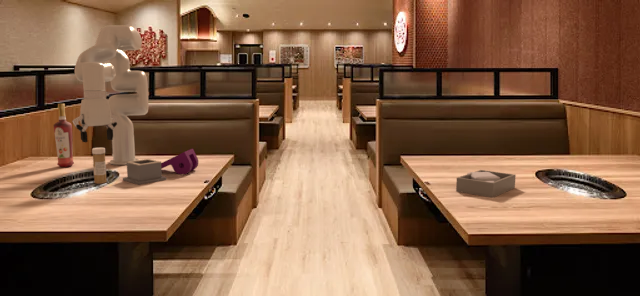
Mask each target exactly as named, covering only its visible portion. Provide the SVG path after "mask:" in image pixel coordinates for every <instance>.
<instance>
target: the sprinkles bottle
mask: <svg viewBox="0 0 640 296" xmlns="http://www.w3.org/2000/svg"><path fill="white" fill-rule="evenodd" d="M91 154H92V160H93V161H92V163H93V164H92V166H93V178H94V181H93V182H94V184H96V185H97V184H101V185H102V184H105V183H107V165H106V148H105V147H93V148H92V149H91Z"/></svg>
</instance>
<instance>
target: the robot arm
mask: <svg viewBox="0 0 640 296" xmlns="http://www.w3.org/2000/svg"><path fill="white" fill-rule="evenodd" d="M142 42H143V39H142V37H141V34H140V32H139V31H138V30H137V29H136V28H134V26H130V25H127V24H126V25H125V24H124V25H120V24H119V25H118V24H116V25H115V24H108V25H105V26H102V27H101V28H100V30H99V32H98V35H97V37H96V42H95V44H94V45H92V46H91V47H89V48H87V49H85V50H83V52H81V53H80V54H79V56H78V57H77V60H76V62H75V66H74V75H75V78H76V80H77V81H79V82H82V86H83V87H82V88H83V99H81V103H80V112H79V113H80V114H79V116H78V117H75V118H74V119H72V120H71V121H72V123H73V125H74V127H75V128H76V129H77V130H78V131H79V132H80V140H81V142H82V143H88V131H86V130H88V128H89V127H99V126H105V127H106V139H107V140H108V141H111V144H112V145H111V146H112V154H111V156H112V159H111V160H109V164H110V165H114V166H125V165H126V166H127V162H129V161H136V160H140V159H138V158H136V151H135V149H136V148H135V147H136V146H135V133H134V131H135V129H134V123H133V121H132V120H131V119H130V118H129V116H145V115H147V114H148V112H149V107H150V106H149V84H148V83H149V82H148V77H147V75H146V72H145V71H143V70H131V63H130V58H129V57H128V56H127V54H126V52H124V51H138V50H139V49H141V47H142V44H143V43H142ZM108 61H109V62H108ZM108 82H110V87H111V89H112V90H113V91H115V92H122V93H123V92H135V93H136V94H114V95H111V96H110V92H107V90H106V83H108ZM107 97H109V98H107ZM79 122H80V124H79Z"/></svg>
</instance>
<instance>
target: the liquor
mask: <svg viewBox="0 0 640 296" xmlns="http://www.w3.org/2000/svg"><path fill="white" fill-rule="evenodd" d="M65 106H66V104H65V103H57V108H58V121H57V122H55V123H54V124H53V132H54V140H55V147H56V154H57V166H58V167H60V168H70V167H72V166H73V165H74V164H75V163H74V159H73V158H74V157H73V156H74V154H73V124H72V123H71V122H69V121H67V118H66V112H65V111H66V110H65V109H66V107H65Z"/></svg>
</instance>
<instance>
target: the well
mask: <svg viewBox="0 0 640 296" xmlns="http://www.w3.org/2000/svg"><path fill="white" fill-rule="evenodd" d="M161 163H162V161H160V160H156V159H151V158H145V159H139V160H136V161H129V162H127V165H126V173H127V176H125V177H122V180H123V181H124V182H129V183H131V184H135V185H137V186H138V185H144V184H145V185H146V184H150V183H151V184H152V183H156V182H162V181H167V177H166V176H164V175H162V172H163V171H162V170H163V169H161Z"/></svg>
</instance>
